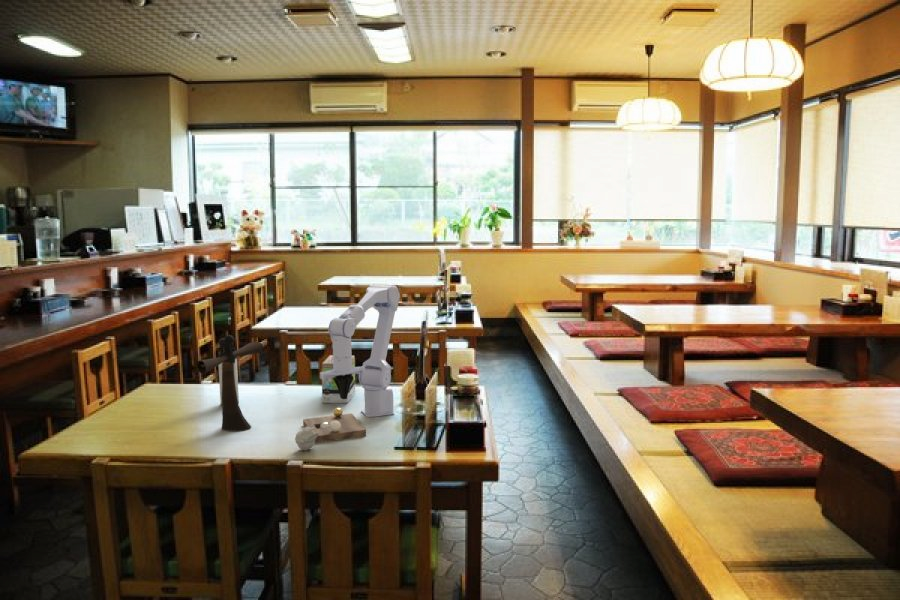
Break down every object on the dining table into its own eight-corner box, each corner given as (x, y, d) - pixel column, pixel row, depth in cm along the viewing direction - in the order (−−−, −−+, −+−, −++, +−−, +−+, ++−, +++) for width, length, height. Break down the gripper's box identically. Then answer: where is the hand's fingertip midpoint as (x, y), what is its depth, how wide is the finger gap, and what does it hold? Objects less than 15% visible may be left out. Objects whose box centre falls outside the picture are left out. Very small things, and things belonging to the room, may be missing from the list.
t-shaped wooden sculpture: (250, 412, 228) (246, 326, 224) (275, 414, 225) (271, 327, 221) (192, 442, 198) (186, 344, 194) (220, 445, 195) (215, 345, 191)
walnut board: (351, 419, 220) (351, 413, 219) (366, 435, 203) (366, 429, 203) (303, 425, 214) (303, 419, 213) (313, 443, 197) (313, 436, 197)
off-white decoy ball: (339, 429, 204) (339, 418, 203) (342, 432, 200) (341, 421, 200) (328, 430, 202) (328, 419, 202) (331, 433, 199) (330, 423, 199)
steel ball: (320, 435, 206) (329, 431, 208) (324, 432, 204) (333, 428, 206) (316, 425, 207) (325, 422, 209) (320, 423, 205) (329, 419, 207)
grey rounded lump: (308, 455, 187) (307, 431, 186) (290, 451, 191) (289, 427, 190) (323, 449, 192) (322, 425, 191) (305, 444, 196) (304, 422, 195)
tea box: (349, 403, 238) (348, 363, 236) (321, 403, 238) (320, 363, 236) (356, 392, 253) (355, 354, 251) (329, 392, 253) (328, 354, 251)
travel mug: (243, 403, 238) (240, 348, 236) (228, 408, 233) (225, 352, 230) (231, 400, 242) (229, 347, 239) (216, 405, 236) (213, 350, 233)
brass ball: (341, 414, 218) (341, 406, 217) (343, 417, 215) (343, 408, 214) (332, 416, 216) (332, 407, 216) (334, 418, 214) (334, 409, 213)
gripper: (358, 351, 214) (359, 391, 216) (315, 356, 206) (317, 399, 208) (367, 355, 208) (368, 396, 210) (324, 361, 200) (325, 404, 202)
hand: (343, 398), depth 209 cm, fingers closed
